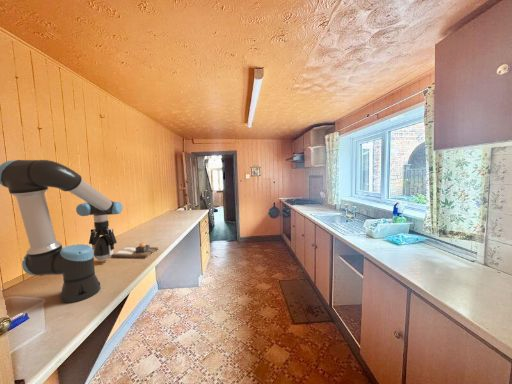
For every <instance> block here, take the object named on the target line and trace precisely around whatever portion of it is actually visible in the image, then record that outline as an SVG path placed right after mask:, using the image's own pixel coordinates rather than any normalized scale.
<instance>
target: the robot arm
mask: <svg viewBox="0 0 512 384" xmlns="http://www.w3.org/2000/svg"><path fill="white" fill-rule="evenodd" d="M0 185H1V186H2V187H4V188H8V192H9V195H12V196H14V197H16V200H17V205H18V209H19V211H20V216H21V219H22V223H23V226H24V229H25V233H26V237H27V241H28V243H29V248H28V249H27V251H26V254H25V255H24V257H23V260H22V262H21V267H22V270H23V271H24V272H25V273H26V274H27V275H31V276H40V277H41V276H42V277H43V276H54V275H55V276H57V275H58V276H60V275H62V278H63V279H62V280H63V283H62V288H61V291H60V294H59V301H60V302H61V303H64V304H70V303H77V302H80V301H83V300H87V299H88V298H91V297H94V296H95V295H96V294H98V293H99V292H100V290H101V283H100V281H99V279H98V277H97V275H96V272H95V268H96V267H95V256H94V247H95V243H96V241H97V239H98V238H99V237H100V236H104V237H105V238H106V239H107V241H108V243H109V244H110V245H109V255H112V254H114V250H115V244H117V243H118V242H117V239H116V236H115V234H114V229H113V228H109V226H110V225H109V215H119V214H120V215H121V213H122V211H123V208H124V207H123V204H122V202H119V201H113V200H111V199H110V198H108V197H107V196H106V195H104V194H103V193H102V192H100V191H99V190H97V189H96V188H95V187H94V186H91V184H89V183H87V182H86V181H84V180H83V177H82V176H81V175H80V174H79V173H77V172H76V171H75V170H73V169H72V168H69V167H68V166H66V165H63V164H61V163H60V162H56V161H53V160H50V159H14V160H13V159H12V160H6V161H4V162H2V163H1V164H0ZM49 188H56V189H59V190H61V191H63V192H69V193H71V194H72V195H74V196H76V197H77V198H79V199H80V200H83V201H84V202H82V203H79V204H78V205H77V206H76V207H75V212H76V214H77V215H78V216H81V217H88V216H93V226H94V227H93V228H92V229H90V236H89V241H88V244H89V245H88V244H71V245H67V246H64V247H63V246H62V245H63V244H62V242H61V241H57V238H56V236H55V231H54V226H53V222H52V219H51V215H50V210H49V207H48V202H47V198H46V194H45V193H46V192H47V191H48V190H49Z"/></svg>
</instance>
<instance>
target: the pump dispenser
mask: <svg viewBox="0 0 512 384" xmlns="http://www.w3.org/2000/svg"><path fill="white" fill-rule="evenodd" d="M109 245H110V244H109V243H108V241H107V239H106V238H105V237H104V236H103V235H100V237H99V238H98V239H97V241H96V243H95V247H94V252H93V253H94V259H96V260H98V261H103V260H104V261H105V260H107V259H109V258H111V255H109Z"/></svg>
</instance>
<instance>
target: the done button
mask: <svg viewBox="0 0 512 384" xmlns="http://www.w3.org/2000/svg"><path fill="white" fill-rule="evenodd" d="M138 245H139V246H140V248H144V247H146V245H147V244H146V242H141V243H139V244H138Z"/></svg>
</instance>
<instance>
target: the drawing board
mask: <svg viewBox="0 0 512 384" xmlns="http://www.w3.org/2000/svg"><path fill="white" fill-rule="evenodd" d="M157 250H158V251H159V247H158V246H155V247H154V246H153V247H152V246H151V245H150V244H146V247H144V248H140V246H125V247H124V248H122V249H120V250H118V251H115V252H113V254H112V255H111V256H110V258H111V259H145V258H146V259H147V258H149V257H150V256H152V255H153V254H155V253H156V252H158V251H157ZM155 251H156V252H155ZM154 252H155V253H154ZM152 253H153V254H152ZM151 254H152V255H151ZM148 256H149V257H148Z"/></svg>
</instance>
